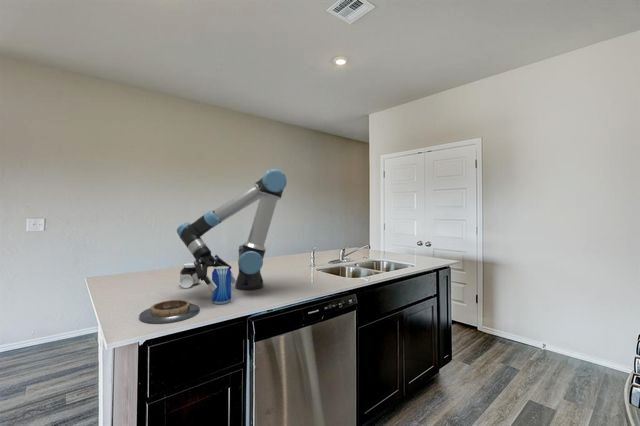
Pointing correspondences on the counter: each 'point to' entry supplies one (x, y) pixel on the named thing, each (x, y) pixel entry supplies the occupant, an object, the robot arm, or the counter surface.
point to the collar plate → (168, 319)
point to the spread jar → (188, 276)
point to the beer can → (221, 285)
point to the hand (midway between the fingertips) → (225, 285)
